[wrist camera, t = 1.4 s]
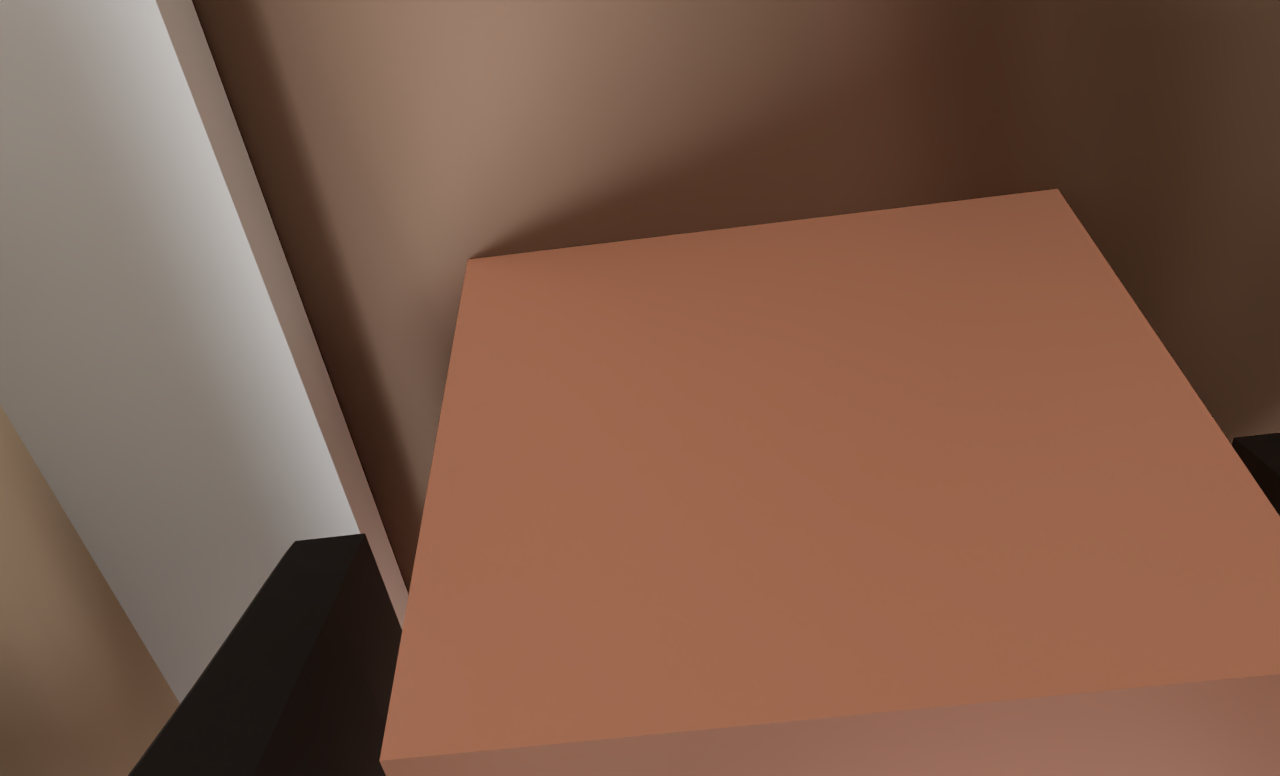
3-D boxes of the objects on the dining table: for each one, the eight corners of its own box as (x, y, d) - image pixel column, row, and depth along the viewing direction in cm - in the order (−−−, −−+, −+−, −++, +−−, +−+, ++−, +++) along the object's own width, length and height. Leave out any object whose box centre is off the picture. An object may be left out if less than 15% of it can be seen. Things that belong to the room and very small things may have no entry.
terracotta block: (1007, 587, 13) (1205, 1110, 8) (562, 632, 13) (543, 1163, 9) (1055, 184, 9) (1405, 699, 5) (468, 254, 10) (373, 795, 6)
